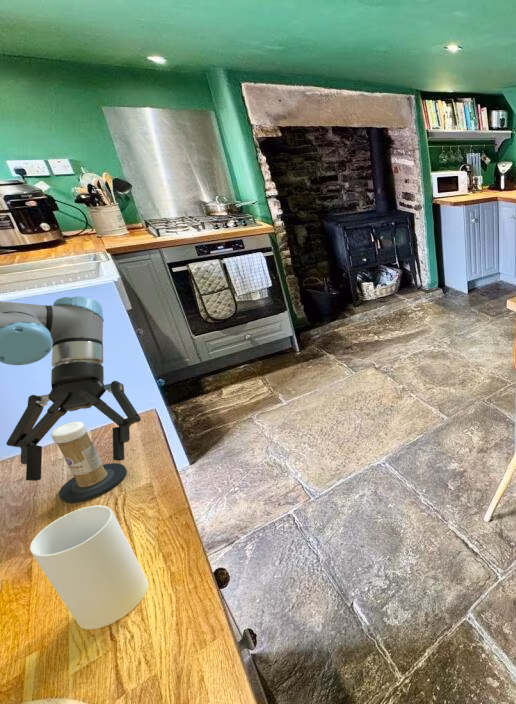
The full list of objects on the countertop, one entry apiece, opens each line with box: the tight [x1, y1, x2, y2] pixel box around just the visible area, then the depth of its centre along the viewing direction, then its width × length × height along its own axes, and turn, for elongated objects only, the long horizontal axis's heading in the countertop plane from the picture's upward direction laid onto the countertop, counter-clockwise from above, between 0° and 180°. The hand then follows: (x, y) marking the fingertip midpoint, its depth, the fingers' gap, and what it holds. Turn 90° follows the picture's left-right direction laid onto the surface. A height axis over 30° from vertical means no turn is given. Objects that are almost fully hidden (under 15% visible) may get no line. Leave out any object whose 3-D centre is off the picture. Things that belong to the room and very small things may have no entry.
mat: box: [58, 462, 128, 504], centre depth 84 cm, size 10×10×1 cm
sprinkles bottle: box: [50, 421, 107, 487], centre depth 81 cm, size 5×5×14 cm
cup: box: [29, 504, 150, 631], centre depth 60 cm, size 8×8×16 cm
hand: (77, 469), depth 79 cm, fingers open, 12 cm apart
